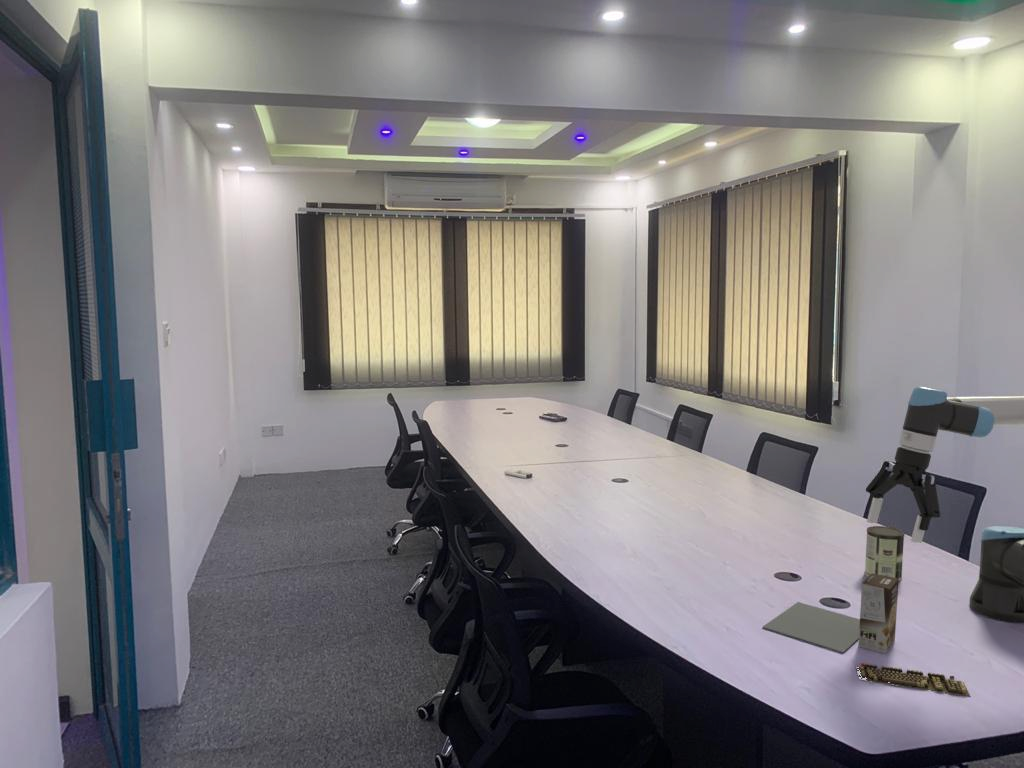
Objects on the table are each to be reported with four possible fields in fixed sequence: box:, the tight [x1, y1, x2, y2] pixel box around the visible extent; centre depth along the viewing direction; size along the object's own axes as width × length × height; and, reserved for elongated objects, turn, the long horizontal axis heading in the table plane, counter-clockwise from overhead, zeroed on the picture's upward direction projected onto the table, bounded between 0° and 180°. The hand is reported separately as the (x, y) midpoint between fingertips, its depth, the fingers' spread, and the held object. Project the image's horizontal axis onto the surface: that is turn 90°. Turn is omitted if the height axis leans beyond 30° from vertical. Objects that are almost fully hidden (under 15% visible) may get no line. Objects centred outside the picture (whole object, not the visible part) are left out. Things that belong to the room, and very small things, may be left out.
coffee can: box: [864, 525, 905, 581], centre depth 224 cm, size 10×10×14 cm
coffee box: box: [857, 573, 900, 655], centre depth 179 cm, size 9×6×16 cm
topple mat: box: [762, 601, 860, 654], centre depth 189 cm, size 20×22×1 cm
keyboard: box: [856, 662, 971, 698], centre depth 162 cm, size 22×9×2 cm, turn 71°
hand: (893, 532), depth 183 cm, fingers open, 13 cm apart
